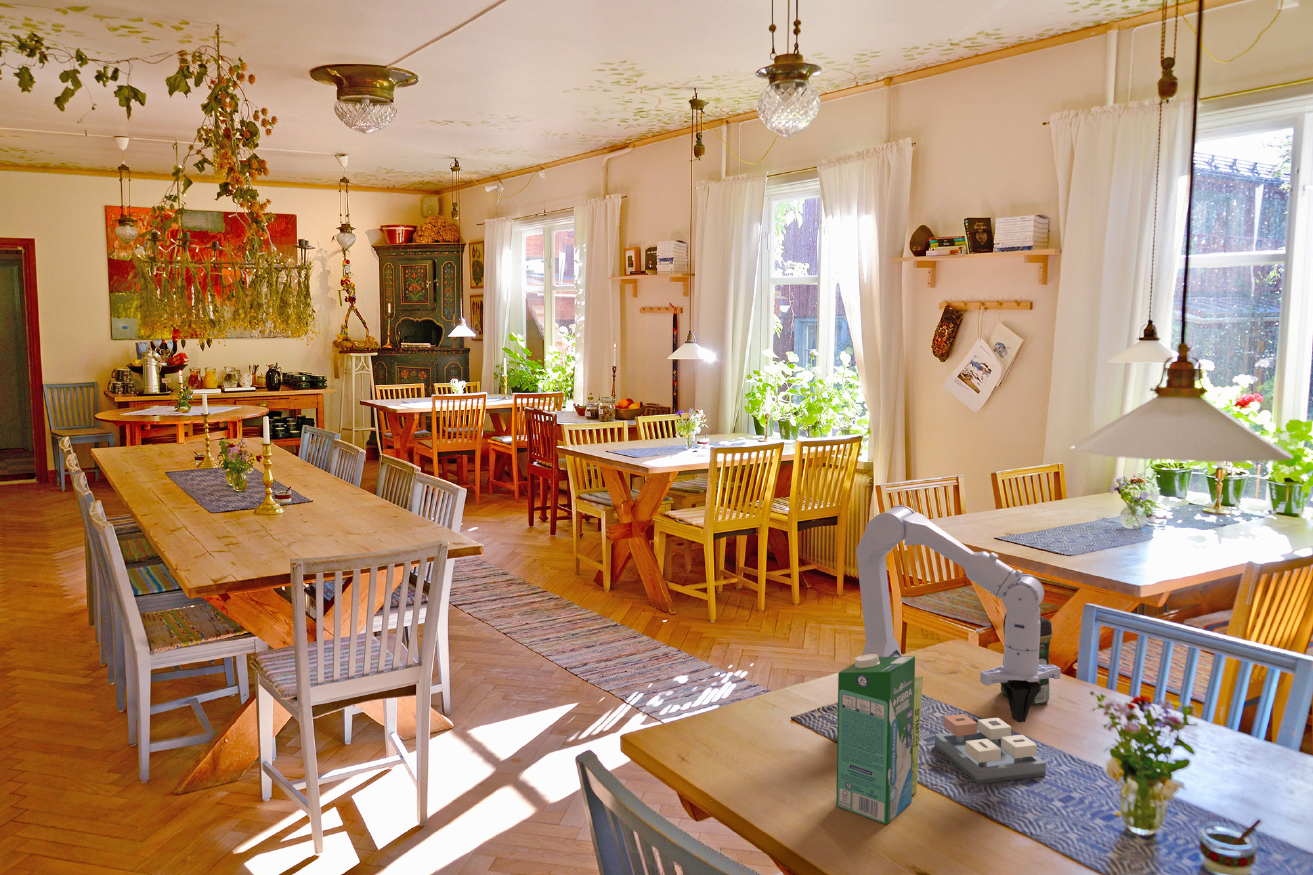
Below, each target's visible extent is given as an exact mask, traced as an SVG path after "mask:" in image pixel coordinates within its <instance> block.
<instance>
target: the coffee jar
mask: <svg viewBox="0 0 1313 875" xmlns="http://www.w3.org/2000/svg"><path fill="white" fill-rule="evenodd" d="M1005 619H1006V613H1005V614H1004V617H1003V623H1002V629H1003V630H1002V631H1003V638H1004V640H1003V641H1005ZM1040 623H1041V624H1040V646H1039V665H1050V657H1049V656H1050V644H1051V641H1052V638H1053V629H1052V628H1053V627H1052V626H1053V625H1052V621H1051V620H1049V619H1047V618H1045V617H1043V616H1041V615H1040ZM1003 665H1004V657H1003V660H1002V666H1003ZM1037 682H1038V683H1039V684H1041V691H1040V692H1039V693H1038V694H1037V696H1036V697H1035V699H1034V700H1033V702H1032V704H1031V706H1036V707H1037V706H1042V705H1044V704H1046V703H1048V702H1049V700H1050V678H1047V679H1039V681H1037ZM1000 691H1001V693H1002V694H1003V695H1005V696H1006V694H1005V691H1004V689H1003V687H1002V685H1001V684H1000Z"/></svg>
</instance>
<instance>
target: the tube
mask: <svg viewBox="0 0 1313 875" xmlns="http://www.w3.org/2000/svg"><path fill="white" fill-rule="evenodd" d="M923 686H924V676H923V675H920V676H919V675H918V676H915V684H914V723H913V762H912V796H913V795H915V794H916V793H917V791H918V775H919V774H918V773H919V772H918V771H919V748H920V747H919V744H920V728H921V727H920V726H921V713H922V709H921V708H922V699H923V698H922V695H923Z"/></svg>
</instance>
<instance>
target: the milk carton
mask: <svg viewBox="0 0 1313 875" xmlns="http://www.w3.org/2000/svg"><path fill="white" fill-rule="evenodd" d="M853 660H854V663H853V664H851V665H849V666H848V667H846V668H844V669H842V670H841V671H839V672H838V674H837V676H838V677H837V683H838V684H837V730H836V731H837V732H836V733H837V735H836V736H837V742H836V745H837V746H836V793H835V794H836V802H835V805H836V807H838V808H841V809H843V810H846V811H849V812H851V813H854V814H857V815H860V816H862V817H865V818H867V819H871V820H873V821H877V822H879V823H882V824H884V825H888V824H889V823H890V822H892V820H894V818H896V817H897V816H898V815H899V814H900V813H902V811H904V809H905V808H907V807H908V806H909V805H910V804H911V803H912V800H913V795H912V762H913V723H914V684H915V677H916V674H915V673H916V656H911V655H910V656H909V655H907V656H904V655H903V657H878V655H877V654H866V655H862V654H861V655H858V656H856V657H854V658H853Z"/></svg>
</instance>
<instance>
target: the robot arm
mask: <svg viewBox="0 0 1313 875" xmlns="http://www.w3.org/2000/svg"><path fill="white" fill-rule="evenodd" d="M864 530H865V531H864V532H863V534H862V536H861V539H860V541H859V543H858V545H857V547H856V549H855V550H856V552H855V554H856V561H857V562H856V564H857V570H858V573H857V574H858V580H859V588H860V598H861V606H862V607H861V608H862V616H863V625H864V633H865V634H864V636H865V643H864V647H863V650H862V654H861V656H862V655H866V654H877V655H878V657H904V655H903V654H902V652H901V649H900V643H899V642H898V640H897V639H896V638H895V636H894V635H895V634H894V625H893V616H892V609H891V608H892V606H891V597H890V590H889V579H888V570H887V562H886V560H887V559H886V557H887V555H888V554H889V553H890V552H891V551H892V550H893V549H894V548H895V547H896V546H897V545H899V543H901V542H902V541H904V546H921V545H922V546H926V547H928V548H929V549H931V550H933V551H935V552H936V553H937V554H939V555H941V556H943V557H944V558H946V559H948V560H950V561H951V562H953V563H955V564H957V565H958V566H960V567H962V568H963V569H964V573H965V575H966V578H967V579H968V580H970V581H972V582H973V583H974V584H976V585H978V586H979V587H981V588H982V589H983V590H985V591H986V592H988V593H990V594H992V595H993V596H995V597H996V598H998V599H1001V600H1002V604H1003V606H1004V607H1005V609H1006V612H1005V614H1006V619H1005V641H1004V640H1003V641H1004V642H1003V643H1004V646H1003V648H1004V649H1003V658H1004V665H1003V664H1002V665H1000V666H997V667H994V668H991V669H987V670H981V671H980V674H979V681H980V683H982V684H983V685H984V686H987V687H989V686H992V685H993V684H1000V686H1001V685H1002V687H1003V689H1004V691H1005V694H1006V695H1005V694H1004V695H1005V696H1006V698H1007V701H1008V705H1009V709H1010V714H1011V719H1012V720H1014V721H1015V722H1016V723H1025V722H1026V721H1027V718H1028V714H1029V712H1030V709H1031V707H1032V705H1031V704H1032V702H1033V700H1034V699H1035V697H1036V696H1037V694H1038V693H1039V692H1040V691H1041V684H1039V683H1038V682H1037V681H1039V679H1047V678H1049V679H1054V680H1060V679H1061V668H1060V667H1059V666H1056V665H1055V664H1049V665H1039V646H1040V624H1041V623H1040V616H1041V607H1040V604H1041V603H1042V601H1043V600H1044V597H1045V588H1044V586H1043V584H1042V583H1041V581H1040V580H1039V579H1038V578H1037V577H1035V575H1033V574H1028V573H1024V572H1023V571H1022V570H1020V569H1019V568H1018V569H1017V570H1016V569H1014V568H1012V567H1011V566H1009V565H1007V564H1006V563H1004V562H1003V561H1001V560H1000V559H999V554H997V553H995V552H994V551H993V552H992V551H991V552H990V553H989V552H987V551H985V550H984V551H983V550H982V551H977V552H974V551H973V550H971V548H969V547H967V546H966V545H964V544H963V543H962V542H960V541H959V540H958V539H956V538H954V537H953V535H951V534H949V533H948V532H946V531H945V530H943V529H941V528H940V526H938V525H936V524H934V523H933V522H931V521H930V520H929V519H928V518H927V517H926V516H925V515H924V514H922V513H920V512H917V511H916V512H915V510H914V509H912V508H911V507H909V506H907V505H902V504H898V505H895V506H893V507H891V508H889V509H888V510H886V511H884V512H881V513H880V512H879V514H876V516H874V517H873V518H872V519H870V521H869V522H867V523H866V524H865V529H864Z"/></svg>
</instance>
